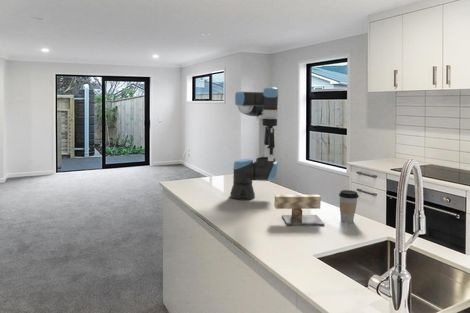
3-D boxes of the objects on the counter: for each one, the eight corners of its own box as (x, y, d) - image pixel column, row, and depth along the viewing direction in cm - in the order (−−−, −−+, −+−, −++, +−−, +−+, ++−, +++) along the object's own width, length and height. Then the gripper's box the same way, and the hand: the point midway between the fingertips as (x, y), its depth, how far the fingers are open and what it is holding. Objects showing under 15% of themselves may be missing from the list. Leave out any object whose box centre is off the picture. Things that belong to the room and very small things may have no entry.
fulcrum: (287, 225, 180) (287, 211, 179) (281, 216, 194) (282, 203, 193) (324, 225, 181) (325, 211, 180) (316, 216, 195) (317, 203, 194)
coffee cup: (341, 217, 195) (342, 188, 193) (359, 220, 190) (361, 191, 188) (334, 221, 187) (336, 192, 185) (353, 225, 182) (355, 195, 180)
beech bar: (275, 208, 184) (276, 196, 183) (274, 206, 188) (274, 194, 187) (320, 208, 185) (320, 196, 184) (317, 206, 189) (318, 194, 188)
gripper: (259, 116, 207) (258, 155, 210) (266, 119, 182) (264, 162, 185) (273, 117, 207) (272, 155, 211) (281, 119, 183) (279, 162, 186)
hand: (268, 158), depth 198 cm, fingers open, 13 cm apart
